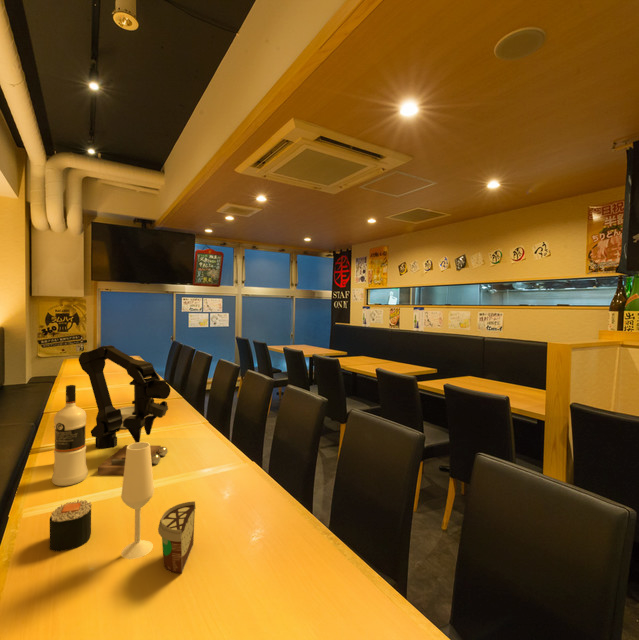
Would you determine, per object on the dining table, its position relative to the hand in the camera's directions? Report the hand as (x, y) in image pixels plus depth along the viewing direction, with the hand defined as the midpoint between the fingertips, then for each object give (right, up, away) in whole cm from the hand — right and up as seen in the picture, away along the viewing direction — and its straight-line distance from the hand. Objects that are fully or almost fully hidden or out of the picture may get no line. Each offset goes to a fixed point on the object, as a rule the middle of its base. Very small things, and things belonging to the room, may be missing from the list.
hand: (143, 438), depth 138 cm
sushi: (+7, -8, -51) cm, 52 cm away
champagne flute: (+24, -8, -53) cm, 59 cm away
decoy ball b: (+8, -4, -9) cm, 13 cm away
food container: (+34, -9, -56) cm, 66 cm away
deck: (0, -6, -8) cm, 10 cm away
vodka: (-12, -6, -22) cm, 26 cm away
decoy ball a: (+8, -4, -2) cm, 9 cm away
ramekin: (-22, -4, +32) cm, 39 cm away
